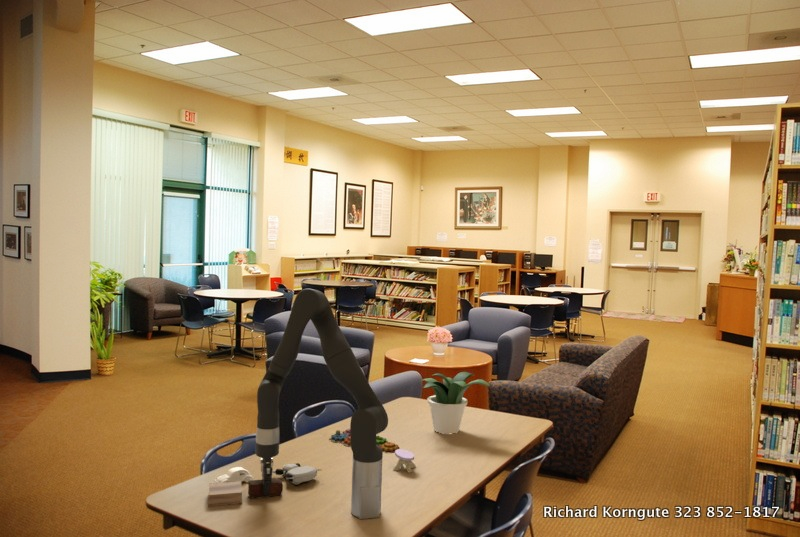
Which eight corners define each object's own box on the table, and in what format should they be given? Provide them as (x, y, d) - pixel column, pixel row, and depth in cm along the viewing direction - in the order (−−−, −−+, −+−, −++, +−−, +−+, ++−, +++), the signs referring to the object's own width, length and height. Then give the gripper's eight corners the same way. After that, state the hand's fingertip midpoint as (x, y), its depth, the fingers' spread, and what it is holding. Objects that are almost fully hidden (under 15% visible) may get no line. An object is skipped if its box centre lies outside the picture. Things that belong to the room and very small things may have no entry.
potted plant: (474, 448, 251) (476, 387, 250) (401, 432, 268) (403, 376, 267) (501, 429, 278) (503, 374, 277) (433, 416, 296) (435, 364, 295)
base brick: (242, 503, 191) (242, 492, 191) (207, 506, 188) (208, 495, 188) (241, 491, 200) (241, 481, 200) (208, 494, 197) (208, 483, 197)
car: (245, 475, 215) (246, 462, 214) (253, 481, 210) (254, 468, 210) (213, 483, 207) (213, 470, 207) (220, 489, 202) (221, 476, 202)
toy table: (389, 464, 230) (389, 449, 229) (411, 462, 232) (412, 448, 232) (396, 474, 220) (397, 458, 220) (419, 472, 223) (420, 457, 223)
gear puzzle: (407, 448, 250) (407, 438, 250) (383, 458, 237) (383, 448, 237) (350, 432, 268) (350, 423, 268) (325, 441, 255) (325, 431, 255)
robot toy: (269, 479, 214) (293, 489, 203) (269, 466, 214) (293, 476, 203) (298, 471, 222) (323, 480, 212) (298, 458, 222) (323, 467, 212)
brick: (249, 499, 194) (250, 485, 194) (247, 494, 198) (248, 480, 198) (282, 495, 199) (283, 481, 198) (280, 490, 202) (280, 476, 202)
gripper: (281, 446, 192) (279, 499, 193) (277, 432, 206) (275, 482, 206) (257, 448, 190) (255, 501, 191) (254, 433, 203) (253, 483, 204)
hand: (265, 491), depth 198 cm, fingers closed on brick, 4 cm apart
